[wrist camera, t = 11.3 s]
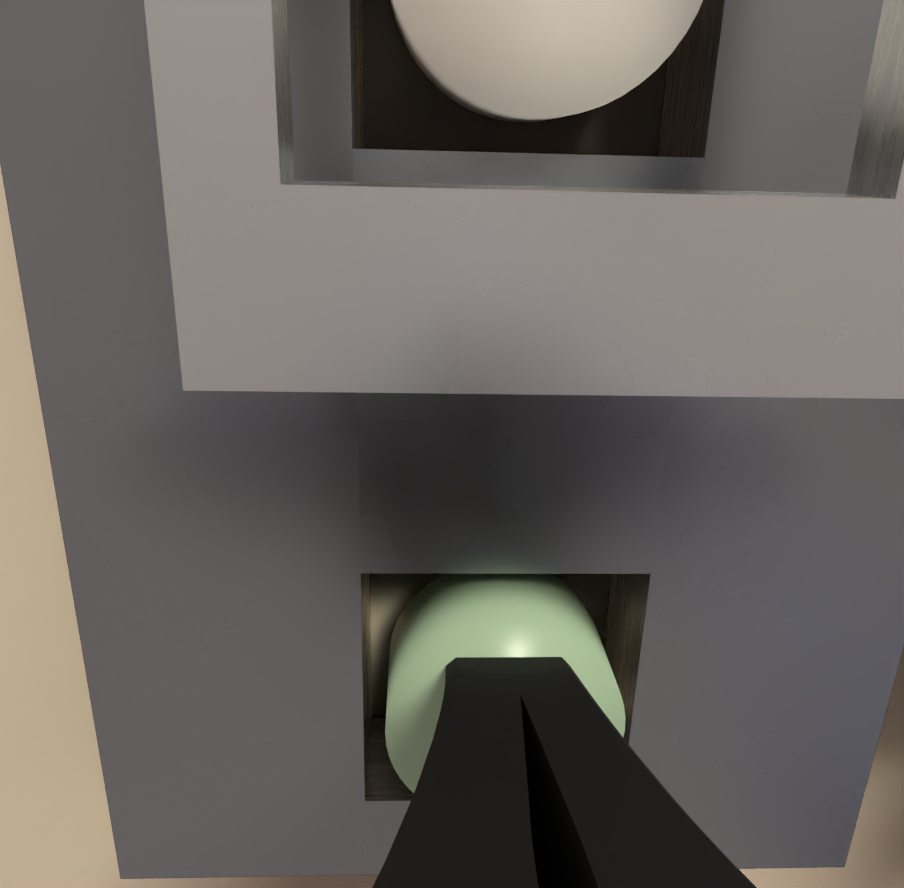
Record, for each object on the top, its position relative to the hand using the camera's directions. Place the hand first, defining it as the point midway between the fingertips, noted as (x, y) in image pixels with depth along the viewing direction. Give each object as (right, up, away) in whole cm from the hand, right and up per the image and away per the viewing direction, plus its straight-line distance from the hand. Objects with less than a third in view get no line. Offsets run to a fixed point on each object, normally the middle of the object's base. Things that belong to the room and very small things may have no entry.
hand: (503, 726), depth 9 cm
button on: (0, +1, +1) cm, 1 cm away
